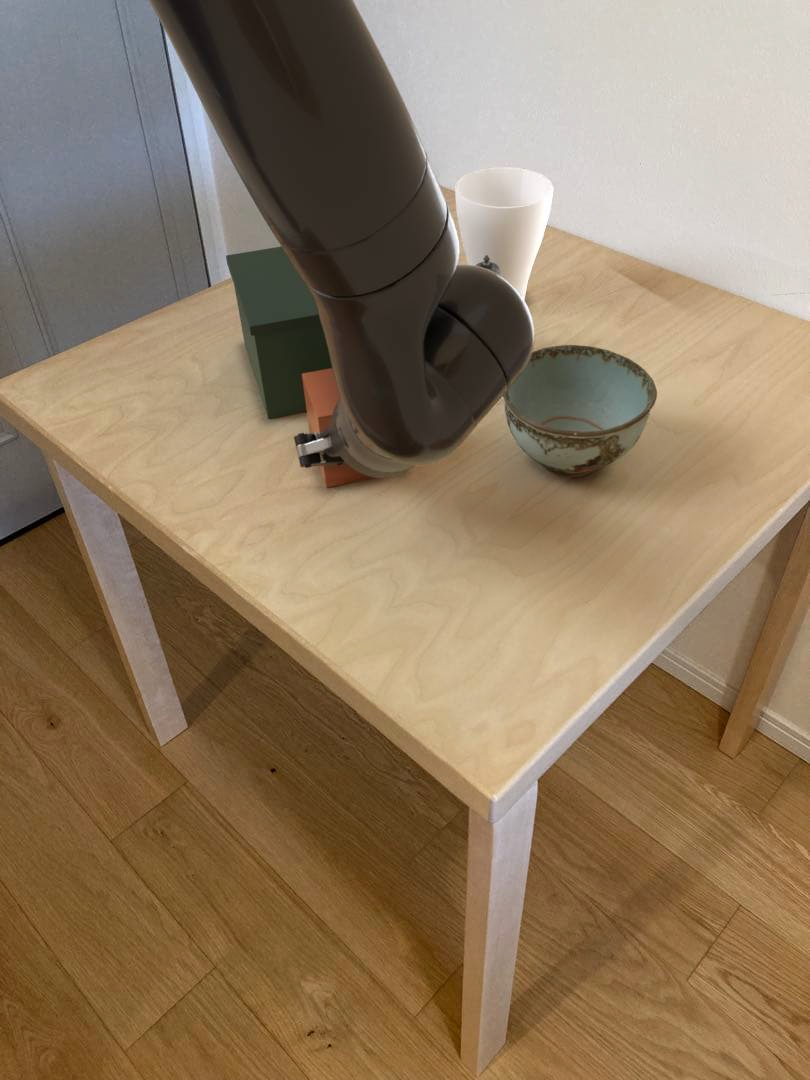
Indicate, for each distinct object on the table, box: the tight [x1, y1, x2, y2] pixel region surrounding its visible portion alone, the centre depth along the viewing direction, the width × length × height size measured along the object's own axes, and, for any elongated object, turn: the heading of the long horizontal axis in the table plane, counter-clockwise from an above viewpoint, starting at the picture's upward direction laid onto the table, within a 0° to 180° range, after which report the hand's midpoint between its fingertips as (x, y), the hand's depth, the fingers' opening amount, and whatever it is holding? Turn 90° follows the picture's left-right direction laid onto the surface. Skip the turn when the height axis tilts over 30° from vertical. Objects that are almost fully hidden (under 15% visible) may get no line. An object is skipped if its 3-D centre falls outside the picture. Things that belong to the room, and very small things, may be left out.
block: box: [302, 368, 375, 488], centre depth 82 cm, size 7×7×8 cm
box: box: [225, 246, 332, 420], centre depth 92 cm, size 15×15×11 cm
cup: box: [454, 166, 554, 300], centre depth 100 cm, size 10×10×14 cm
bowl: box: [502, 344, 658, 478], centre depth 81 cm, size 14×13×8 cm
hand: (359, 450), depth 79 cm, fingers closed
